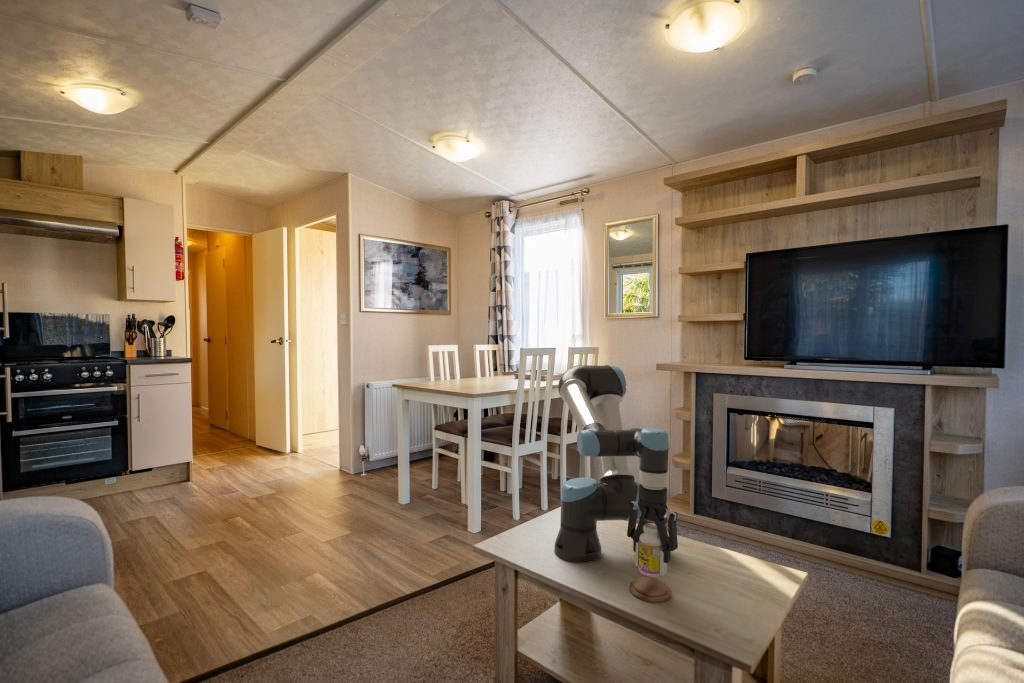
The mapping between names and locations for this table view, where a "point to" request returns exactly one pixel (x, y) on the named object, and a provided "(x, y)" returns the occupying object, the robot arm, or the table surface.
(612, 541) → the table surface
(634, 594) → the plinth
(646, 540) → the supplement bottle
